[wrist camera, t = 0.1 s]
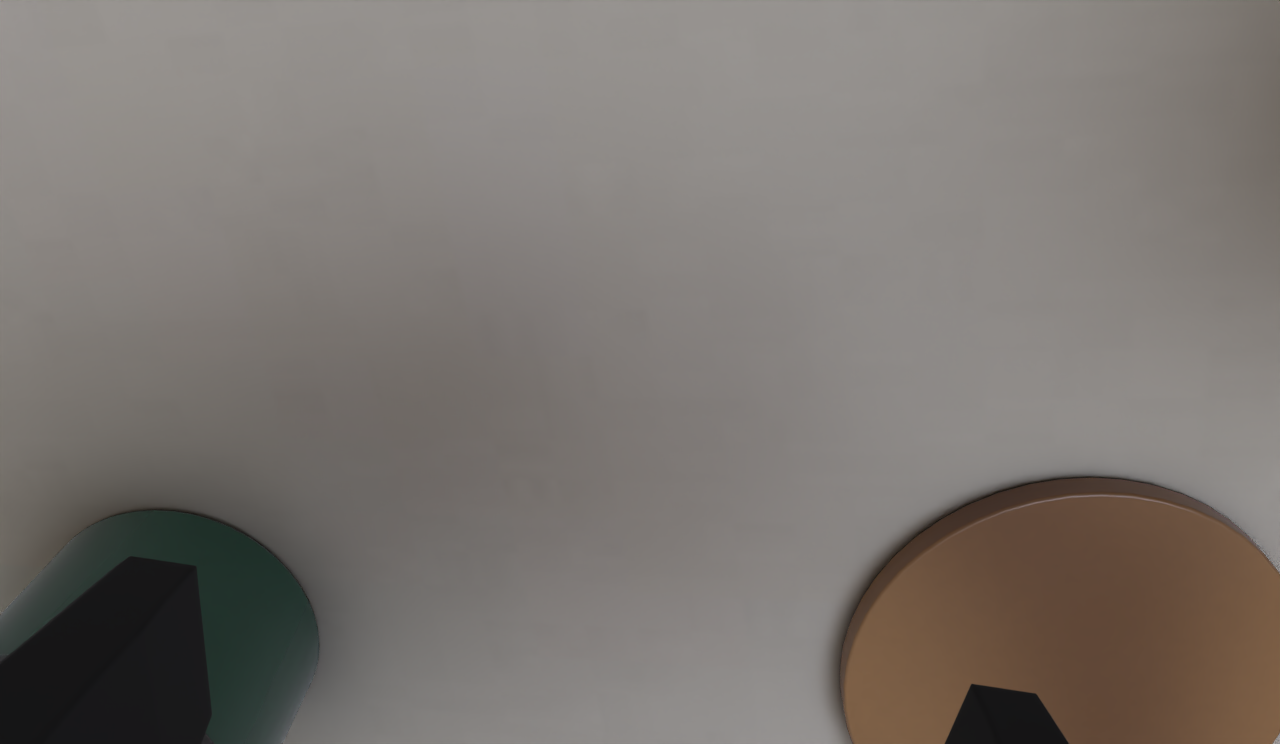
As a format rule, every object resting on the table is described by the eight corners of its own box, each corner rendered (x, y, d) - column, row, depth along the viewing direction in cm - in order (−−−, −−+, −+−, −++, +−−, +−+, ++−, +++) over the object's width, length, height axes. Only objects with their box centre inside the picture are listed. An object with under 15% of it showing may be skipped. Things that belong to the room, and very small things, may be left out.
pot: (195, 784, 24) (76, 1002, 19) (-25, 603, 22) (-213, 793, 17) (392, 650, 22) (313, 853, 17) (171, 442, 20) (20, 607, 16)
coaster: (987, 890, 24) (994, 914, 23) (752, 632, 21) (754, 652, 21) (1366, 703, 22) (1383, 724, 21) (1150, 389, 19) (1164, 404, 19)
